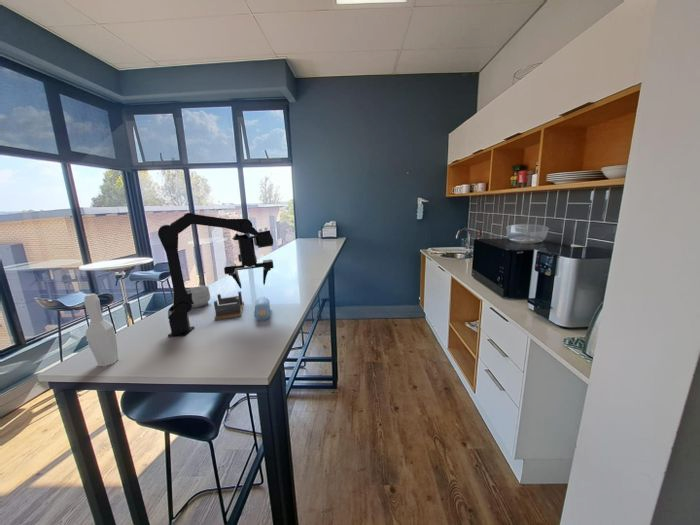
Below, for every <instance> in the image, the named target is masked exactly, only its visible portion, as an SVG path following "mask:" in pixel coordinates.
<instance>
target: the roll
mask: <svg viewBox="0 0 700 525" xmlns="http://www.w3.org/2000/svg"><path fill="white" fill-rule="evenodd" d="M270 305H271V303H270V300H269V298H268V297H266V296H260V297H258V298H257V299H256V300H255V305H254V310H253V316H254V318H255V319H256V320H257V321H259V322H261V321H263V322H264V321H267V320H268V319H269V318H270V315H271V306H270Z"/></svg>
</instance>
